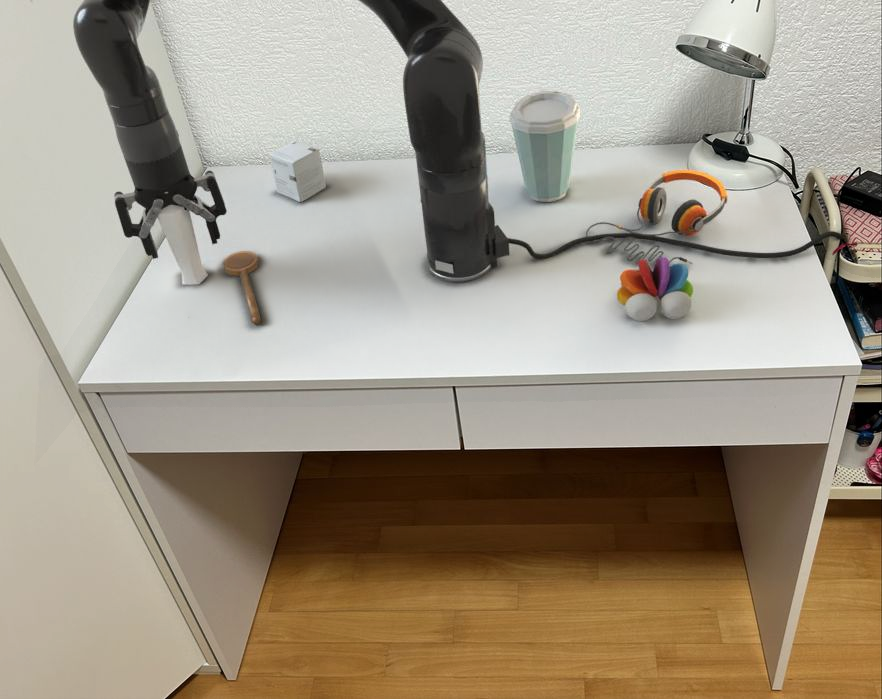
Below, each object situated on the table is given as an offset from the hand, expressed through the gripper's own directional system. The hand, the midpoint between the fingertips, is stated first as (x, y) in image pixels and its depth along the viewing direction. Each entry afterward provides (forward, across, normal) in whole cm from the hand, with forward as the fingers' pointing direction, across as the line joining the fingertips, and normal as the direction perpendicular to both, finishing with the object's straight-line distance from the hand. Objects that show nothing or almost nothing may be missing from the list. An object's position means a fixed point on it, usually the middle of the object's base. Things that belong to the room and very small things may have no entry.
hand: (185, 248), depth 125 cm
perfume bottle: (+5, 0, 0) cm, 5 cm away
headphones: (+6, +67, -19) cm, 70 cm away
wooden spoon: (+5, +7, -7) cm, 11 cm away
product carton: (+5, +20, +18) cm, 27 cm away
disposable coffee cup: (+5, +56, -1) cm, 56 cm away
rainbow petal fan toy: (+6, +57, -34) cm, 67 cm away
